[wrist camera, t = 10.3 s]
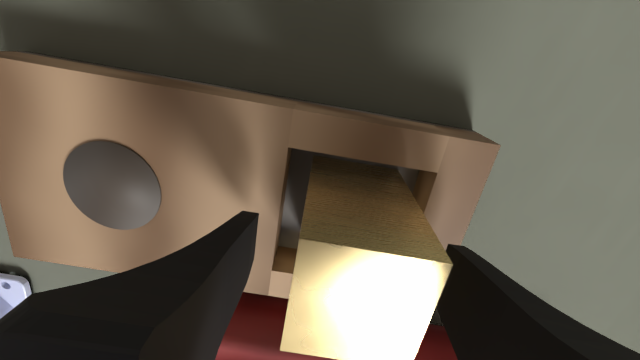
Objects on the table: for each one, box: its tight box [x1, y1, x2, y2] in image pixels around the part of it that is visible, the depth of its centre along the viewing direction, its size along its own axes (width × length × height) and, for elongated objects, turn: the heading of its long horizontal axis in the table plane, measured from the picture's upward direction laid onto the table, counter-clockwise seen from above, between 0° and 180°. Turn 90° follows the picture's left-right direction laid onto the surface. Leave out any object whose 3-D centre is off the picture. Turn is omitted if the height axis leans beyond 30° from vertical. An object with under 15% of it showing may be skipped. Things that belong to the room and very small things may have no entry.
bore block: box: [0, 51, 501, 320], centre depth 14 cm, size 20×9×3 cm, turn 80°
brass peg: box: [280, 155, 453, 360], centre depth 12 cm, size 4×4×7 cm
